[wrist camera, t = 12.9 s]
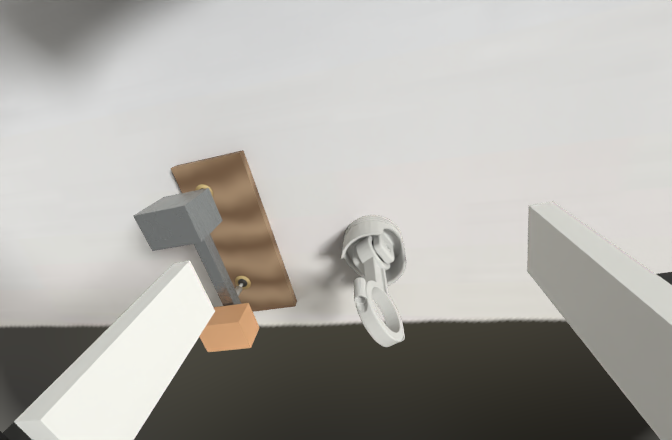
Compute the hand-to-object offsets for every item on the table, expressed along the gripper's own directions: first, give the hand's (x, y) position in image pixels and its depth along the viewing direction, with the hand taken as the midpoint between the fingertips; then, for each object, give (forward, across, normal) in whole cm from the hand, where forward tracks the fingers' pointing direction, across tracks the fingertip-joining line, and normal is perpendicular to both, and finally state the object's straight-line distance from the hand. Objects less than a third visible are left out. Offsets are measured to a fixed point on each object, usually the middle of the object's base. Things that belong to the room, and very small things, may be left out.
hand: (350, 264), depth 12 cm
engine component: (+37, -2, -20) cm, 42 cm away
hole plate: (+37, -25, -15) cm, 47 cm away
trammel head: (+35, -25, -23) cm, 48 cm away
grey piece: (+35, -25, -16) cm, 46 cm away
